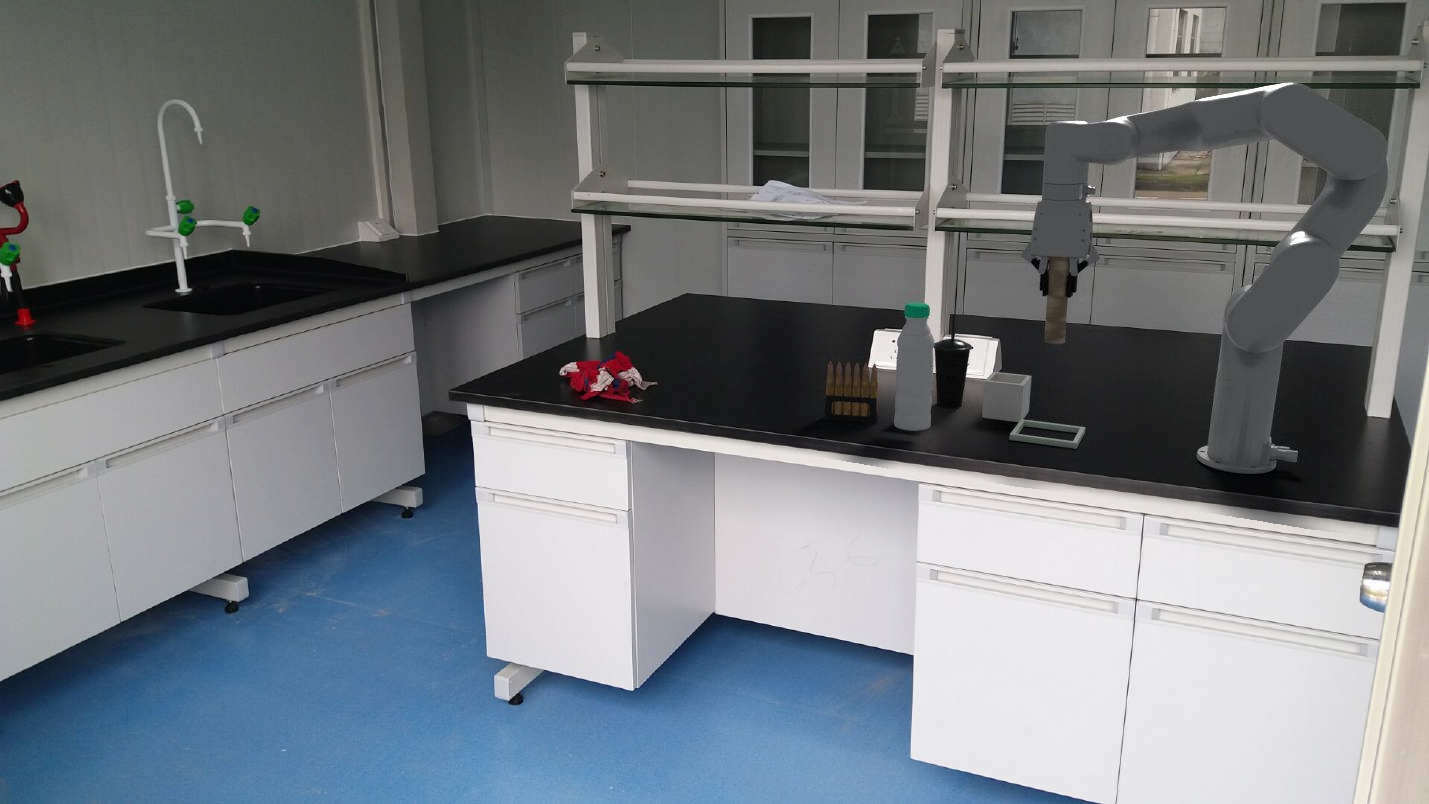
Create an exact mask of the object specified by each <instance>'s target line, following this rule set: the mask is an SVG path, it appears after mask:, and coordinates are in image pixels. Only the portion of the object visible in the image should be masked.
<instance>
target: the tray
mask: <svg viewBox="0 0 1429 804" xmlns="http://www.w3.org/2000/svg"><path fill="white" fill-rule="evenodd" d="M1024 427H1029V428H1037V429H1044V430H1052V431H1057V432H1058V431H1059V432H1065V433H1066V432H1068V433H1076V435H1075V437H1074V439H1073V440H1065V439H1060V438H1059V439H1058V438H1053V437H1052V438H1051V437H1044V436H1043V437H1042V436H1035V435H1028V434H1021V433H1020V432H1021V431H1022V429H1023V428H1024ZM1085 433H1086V427H1085V426H1077V425H1069V424H1062V423H1054V422H1048V421H1047V422H1046V421H1040V420H1039V421H1038V420H1032V419H1021V420H1020V421H1019V422H1017V423H1016V425H1015V427H1014V428H1013V430H1011V432H1010V433H1009V441H1015V442H1016V441H1018V442H1024V443H1025V442H1026V443H1032V444H1040V445H1046V446H1055V447H1061V448H1068V449H1077V448H1078V446H1079V445H1080V443H1081V441H1082V440H1083V437H1084V435H1085Z"/></svg>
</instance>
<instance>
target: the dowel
mask: <svg viewBox="0 0 1429 804" xmlns="http://www.w3.org/2000/svg"><path fill="white" fill-rule="evenodd" d="M1048 269H1049V274H1048V275H1049V276H1048V292H1047V296H1046V305H1045V307H1046V309H1045V323H1044V324H1045V326H1044V339H1043V340H1044V343H1046V344H1051V345H1062V344H1065V343H1066V332H1067V331H1066V330H1067V329H1066V328H1067V316H1068V315H1067V313H1068V299H1069V298H1067V297H1066V288H1067V276H1069V272H1070V261H1069V258H1061V257H1053V258H1049V267H1048Z"/></svg>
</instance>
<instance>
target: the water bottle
mask: <svg viewBox="0 0 1429 804" xmlns="http://www.w3.org/2000/svg"><path fill="white" fill-rule="evenodd" d="M903 312H904V318H905V320H906V321H905V324H904V325H903V327H902V329H901V332H900V334H899V335H898V337H897V340H896V346H897V353H896V363H895V365H896V367H895V369H896V370H895V392H896V393H895V395H894V396H895V397H894V408H895V409H894V410H895V411H894V412H895V413H894V417H893V418H894V419H893V425H894V427H896V428H898V429H900V430H904V431H914V432H915V431H916V432H919V431H924V430H928V429H930V428H931V425H932V422H931V421H932V419H931V418H932V415H931V414H932V413H931V411H932V410H931V409H932V403H933V401H932V400H933V399H932V388H933V378H934V343H935V339H934V336H933V333H932V332H931V328H930V326H929V325H928V319H930V317H929V316H930V313H931V308H930V305H929V304H927V303H924V302H909V303H907V304H905V306H904V310H903Z"/></svg>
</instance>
